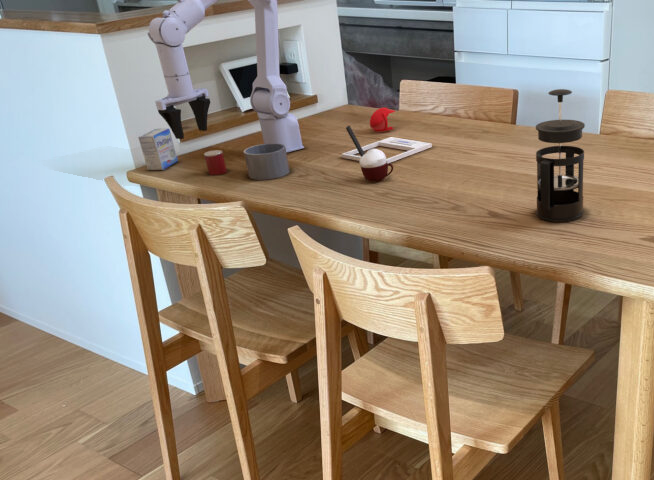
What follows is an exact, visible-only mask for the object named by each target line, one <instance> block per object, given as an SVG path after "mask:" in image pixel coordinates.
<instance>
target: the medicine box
mask: <svg viewBox="0 0 654 480" xmlns="http://www.w3.org/2000/svg"><path fill="white" fill-rule="evenodd" d="M137 138H138V141H139V144H140V147H141V148H140V149H141V152H142V154H143V158H144V161H145V165H146V168H147V171H164V170H166V169H168V168H169V167H171V166H172V165H174V164H176V163H178V162H179V160H178V159H179V158H178V155H177V152H176V148H175V145H174V140H173V137H172V134H171V128H166V127H165V128H162V127H161V128H154V129H152V130H150V131H148V132H146V133H144V134H141V135H139V136H138V137H137Z"/></svg>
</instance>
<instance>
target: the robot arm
mask: <svg viewBox="0 0 654 480" xmlns="http://www.w3.org/2000/svg"><path fill="white" fill-rule="evenodd" d="M176 1H177V3H176V4H174V5H173V6H172V7H171V8H169V9H165V10H164V11H162V17H155V18H153V19H152V20H151V21H150V22H149V25H148V32H147V37H148V38H149V40H150V41H151V42H152V43H153V44H154V46H155V48H156V51H157V55H158V59H159V63H160V66H161V71H162V74H163V79H164V82H165V85H166V90H167V96H164V97H162V98H160V99H158V100H155V101H154V102H155V106H156V110H157V113H158V115H160V116H161V117H162V118H163V120H164V121H165V122H166V124H167V125H168V127H169V129H170V131H171V132H172V134H173V135H174V138H175V139H176V140H177V139H178V140H184V138H185V134H184V130H183V126H182V110H181V109H180V108H176V106H180V105H182V104H183V105H184V104H186V103H188V105H189V107H190V109H191V110H192V114H193V115H194V118H195V122H196V126H197V128H198V130H199V131H201V132H202V131H203V132H207V131H208V115H209V114H208V113H209V109H210V105H211V99H210V98H209V97H210V95H209V91H208V88H207V87H199V88H195V89H194V87H193V82H192V78H191V74H190V70H189V65H188V62H187V58H186V54H185V49H184V45H183V43H184V42H185V38H186V36H187V34H188V33H189V32H191V31H192V30H193V29H194V28H195V27H196V26H197V25H199V24H200V23H201V22H202V21H203V20H204V19H205V11H206V10H207V9H209V8H210V7H211V6H212V5H214V4H215V3H216V2H218V1H219V0H176ZM247 2H248V3H249V4H250V5H251V6H252V7H253V9H254V24H255V27H254V28H255V48H256V49H255V52H256V70H257V71H256V72H257V73H256V74H257V76H256V78H255V79H254V81H253V82H252V91H251V94H250V97H249V102H250V106H251V108H252V110H253V111H255V112H256V114H257V117H258V121H259V126H260V130H261V131H260V132H261V135H262V140H263V144H269V143H277V144H283V145H284V146H285V148H286V153H291V152H295V151H298V150H302V149H304V148H305V146H304V145H303V141H302V134H301V130H300V125H299V121H298V118H297V116H296V115H295V114H294V113H292V112H289V111H290V108H291V100H290V97H289V95H288V89H287V85H286V84H285V82H284V81H283V80H282V78H281V76H280V49H279V47H280V46H279V17H278V16H279V15H278V14H279V13H278V0H247Z"/></svg>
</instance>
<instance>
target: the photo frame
mask: <svg viewBox="0 0 654 480" xmlns="http://www.w3.org/2000/svg"><path fill="white" fill-rule="evenodd" d="M379 146H380V147H385V148H391V149H398V150H402V151H404V152H402V153H399V154H396V155H394V156H390V157H388V158H386V160H387V164H392V163H393V162H396V161H398V160H401V159H404V158H406V157H409V156H411V155H414V154H418V153H420V152H423V151H425V150H427V149H431V148H432V146H433V144H432V143H431V142H425V141H419V140H412V139H406V138H400V137H395V136H390V137H386V138H384V139H381V140H378V141H375V142H372V143H369V144H367V145H363V146H361V148H362V150H363V151H364V152H365V151H368V150H371V149H375V148H377V147H379ZM356 154H359V152H358V150H357V148H355V149H352V150H349V151H346V152H343V153H341V158H343V159H346V160H347V159H348V160H353V161H358V162H359V161H360V158H361V156H360V155H356Z"/></svg>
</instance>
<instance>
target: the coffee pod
mask: <svg viewBox="0 0 654 480" xmlns="http://www.w3.org/2000/svg"><path fill="white" fill-rule="evenodd" d="M203 155H204V156H203V157H204V160H205V165H206V168H207V172H208V175H211V176H219V175H223V174H225V173H227V172H228V170H227V165H226V161H225V157H224V153H223V150H219V149H216V150H208V151H206V152H204V153H203Z"/></svg>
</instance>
